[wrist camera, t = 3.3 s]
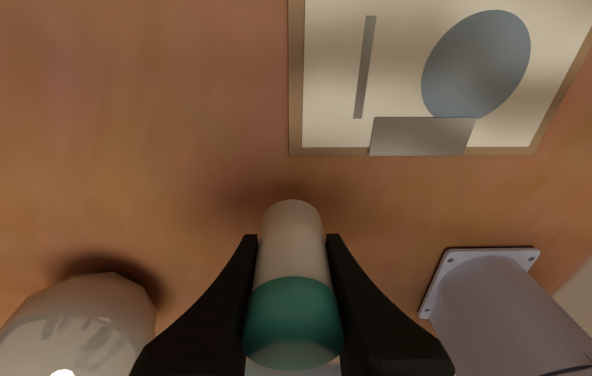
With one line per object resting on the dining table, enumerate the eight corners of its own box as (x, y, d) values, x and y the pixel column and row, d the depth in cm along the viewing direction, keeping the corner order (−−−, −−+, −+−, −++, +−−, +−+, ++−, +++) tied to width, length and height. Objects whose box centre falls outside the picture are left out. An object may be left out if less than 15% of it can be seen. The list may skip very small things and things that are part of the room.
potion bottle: (142, 233, 22) (145, 313, 31) (-40, 275, 16) (30, 360, 25) (175, 339, 17) (168, 398, 26) (-69, 458, 11) (30, 481, 20)
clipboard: (529, 153, 17) (537, 158, 17) (289, 154, 17) (288, 159, 16) (635, -47, 12) (653, -51, 11) (287, -54, 11) (287, -58, 11)
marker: (321, 246, 17) (339, 369, 11) (261, 247, 16) (246, 371, 10) (325, 197, 15) (350, 314, 9) (257, 198, 14) (236, 316, 8)
